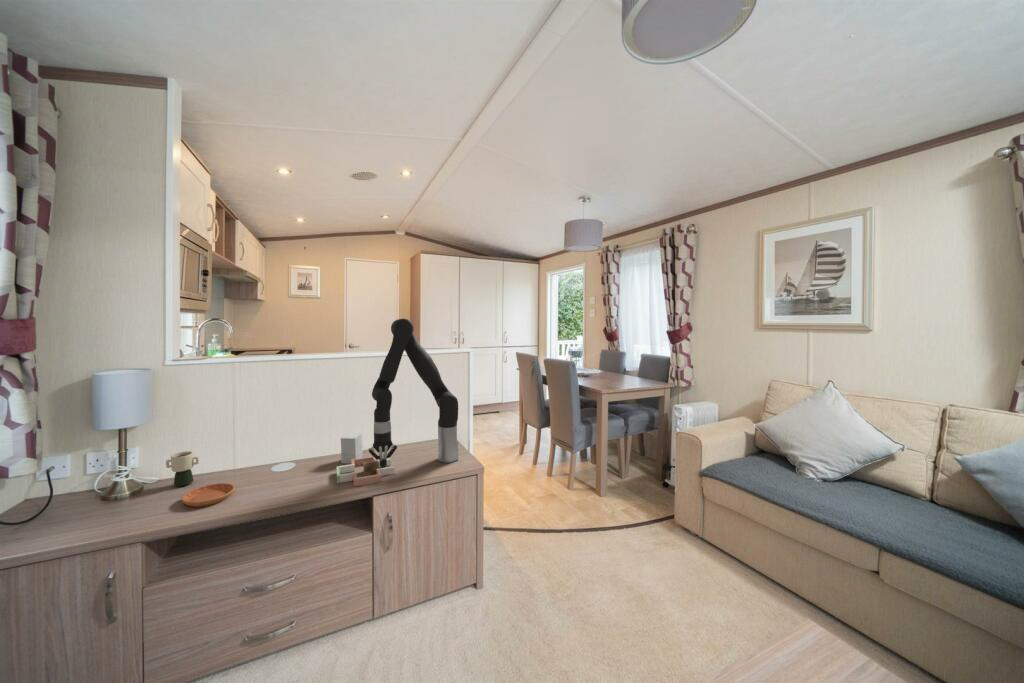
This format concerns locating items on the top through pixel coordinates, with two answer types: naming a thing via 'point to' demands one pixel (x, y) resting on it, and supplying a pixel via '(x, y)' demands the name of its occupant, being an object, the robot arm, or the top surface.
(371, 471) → the walnut block
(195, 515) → the top surface
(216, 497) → the saucer
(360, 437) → the supplement box
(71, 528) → the top surface
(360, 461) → the corral
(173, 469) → the character mug
